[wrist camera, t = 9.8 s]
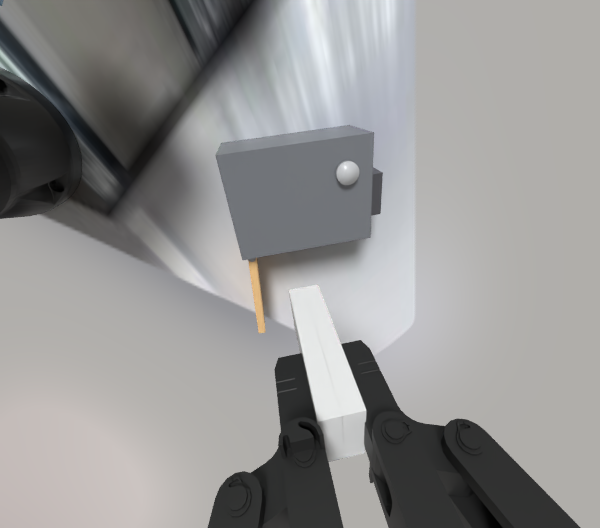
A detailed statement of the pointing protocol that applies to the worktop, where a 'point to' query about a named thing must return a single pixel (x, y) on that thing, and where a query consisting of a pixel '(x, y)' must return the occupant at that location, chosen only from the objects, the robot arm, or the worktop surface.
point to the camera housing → (300, 189)
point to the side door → (257, 293)
